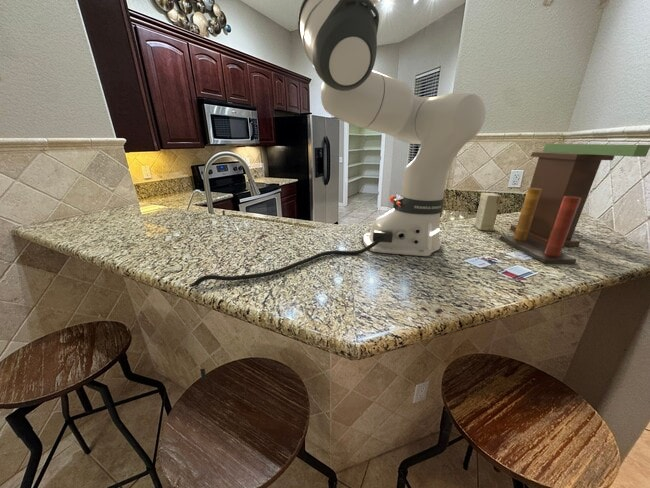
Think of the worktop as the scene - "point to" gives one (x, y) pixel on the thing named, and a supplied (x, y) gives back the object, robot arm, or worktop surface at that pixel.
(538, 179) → the walnut pedestal
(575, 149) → the green bar
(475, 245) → the worktop surface
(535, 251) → the rod stand
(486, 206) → the cosmetic box
